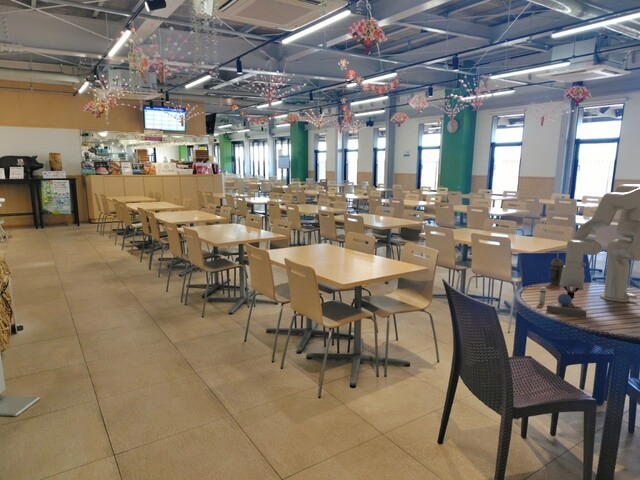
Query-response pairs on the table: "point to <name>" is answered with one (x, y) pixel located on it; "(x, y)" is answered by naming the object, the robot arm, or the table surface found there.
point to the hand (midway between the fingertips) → (570, 299)
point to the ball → (564, 299)
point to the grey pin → (542, 295)
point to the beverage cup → (556, 270)
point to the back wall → (566, 311)
